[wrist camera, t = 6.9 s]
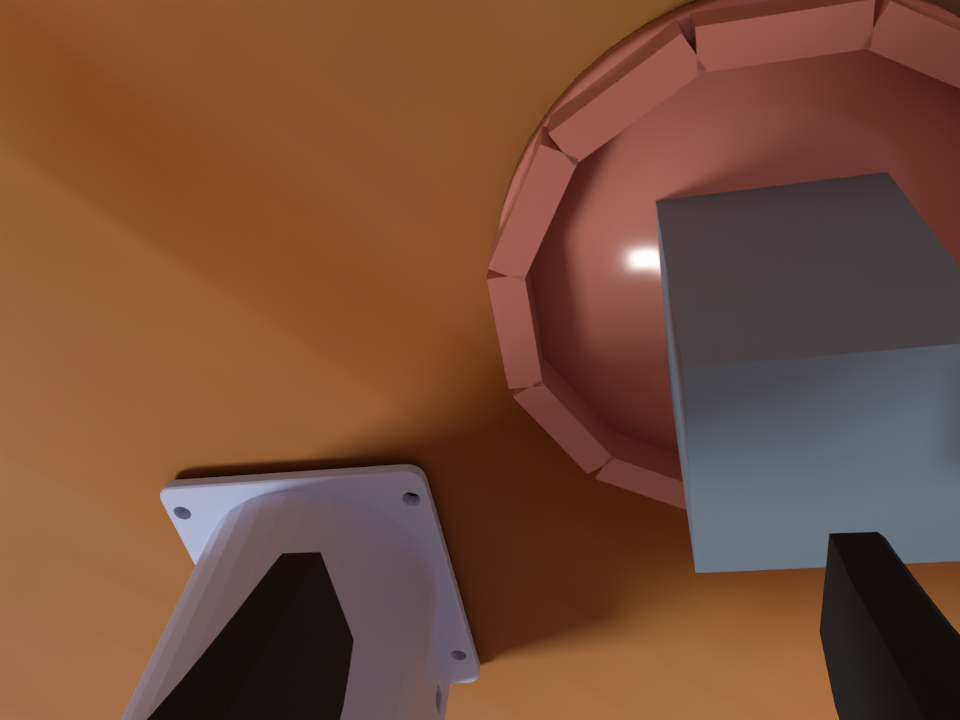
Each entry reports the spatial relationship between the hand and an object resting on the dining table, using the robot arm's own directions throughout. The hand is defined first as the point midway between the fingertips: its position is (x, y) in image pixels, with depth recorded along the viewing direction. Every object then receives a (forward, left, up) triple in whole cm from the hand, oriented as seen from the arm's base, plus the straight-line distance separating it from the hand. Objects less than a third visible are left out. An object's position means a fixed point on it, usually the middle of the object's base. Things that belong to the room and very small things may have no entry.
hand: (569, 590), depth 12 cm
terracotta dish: (0, -4, -9) cm, 10 cm away
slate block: (0, -4, -8) cm, 9 cm away
